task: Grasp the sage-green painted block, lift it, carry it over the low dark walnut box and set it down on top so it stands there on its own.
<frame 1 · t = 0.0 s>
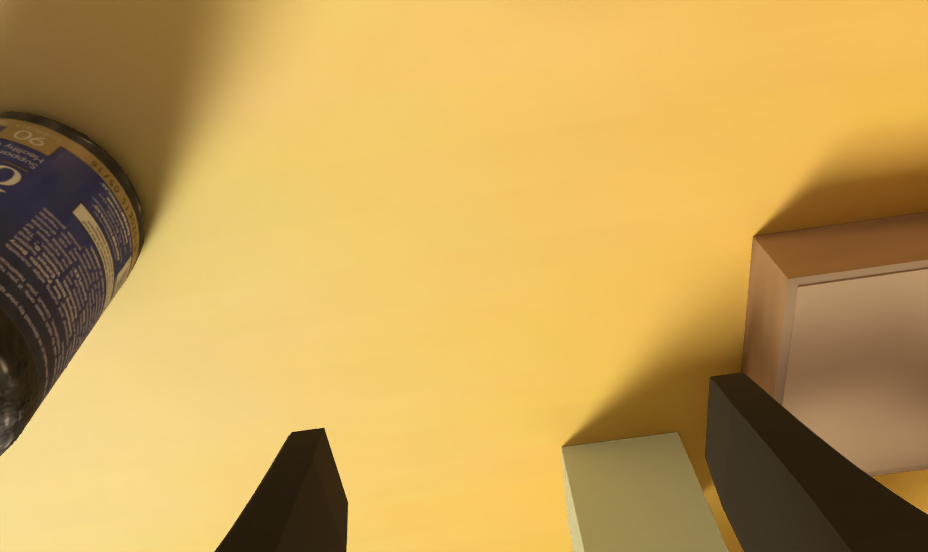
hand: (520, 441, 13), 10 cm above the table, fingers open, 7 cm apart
sage block: (620, 479, 29), on the table
walnut box: (865, 322, 26), on the table
pill bottle: (46, 203, 22), on the table
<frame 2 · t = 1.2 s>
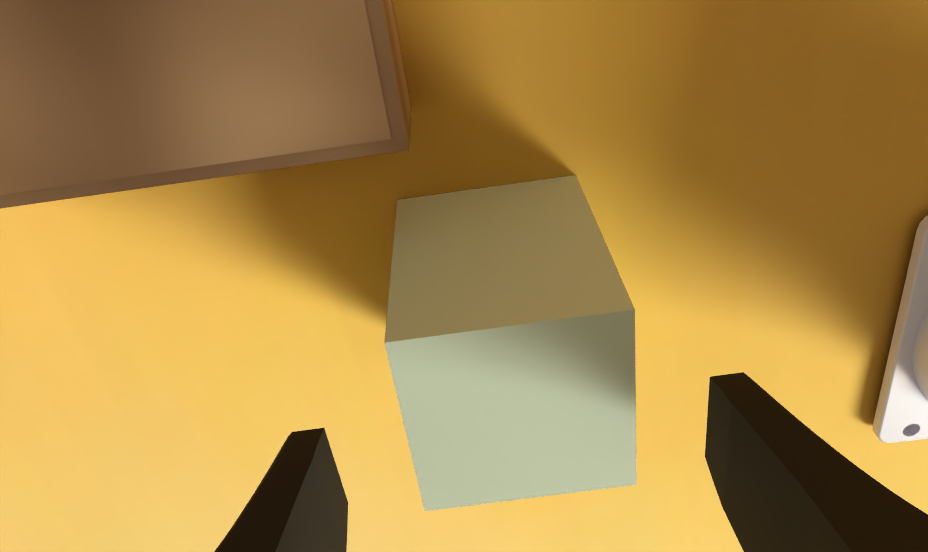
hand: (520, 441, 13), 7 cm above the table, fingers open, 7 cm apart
sage block: (495, 263, 19), on the table
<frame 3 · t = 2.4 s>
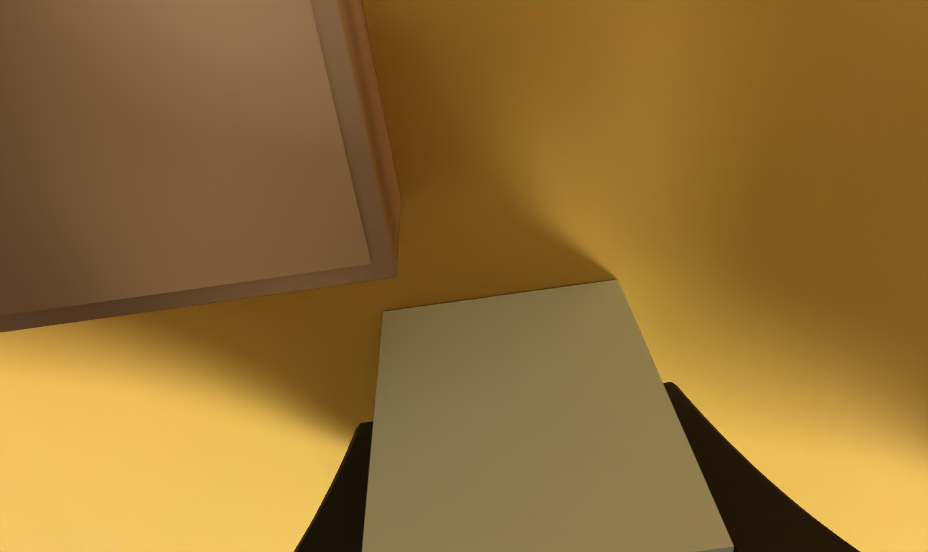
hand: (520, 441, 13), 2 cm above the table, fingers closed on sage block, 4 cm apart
sage block: (511, 385, 15), on the table, touching gripper
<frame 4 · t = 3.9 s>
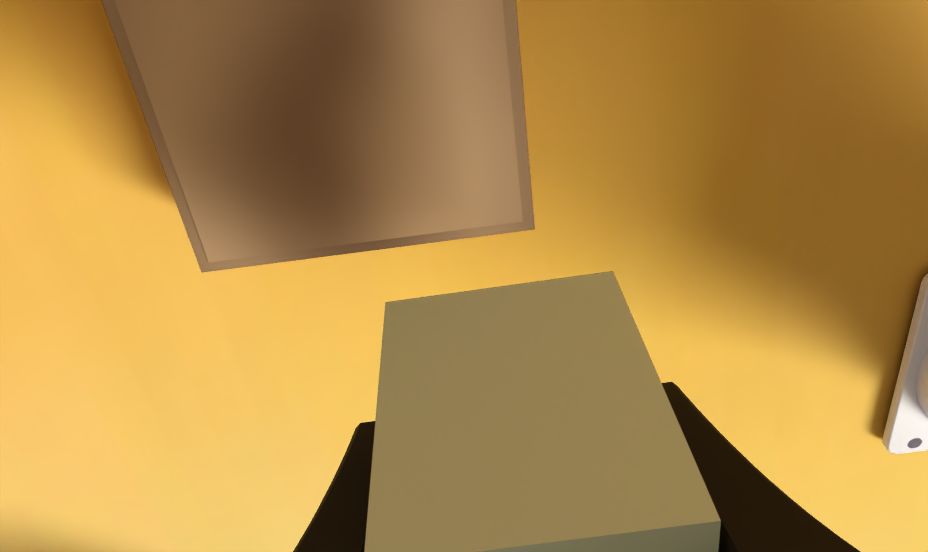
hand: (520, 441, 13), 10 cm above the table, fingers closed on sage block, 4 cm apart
sage block: (509, 374, 15), point 7 cm above the table, touching gripper
walnut box: (343, 52, 19), on the table
when the fingers open (6 cm above the table, at t = 5.6 s): sage block stays where it is, resting on walnut box.
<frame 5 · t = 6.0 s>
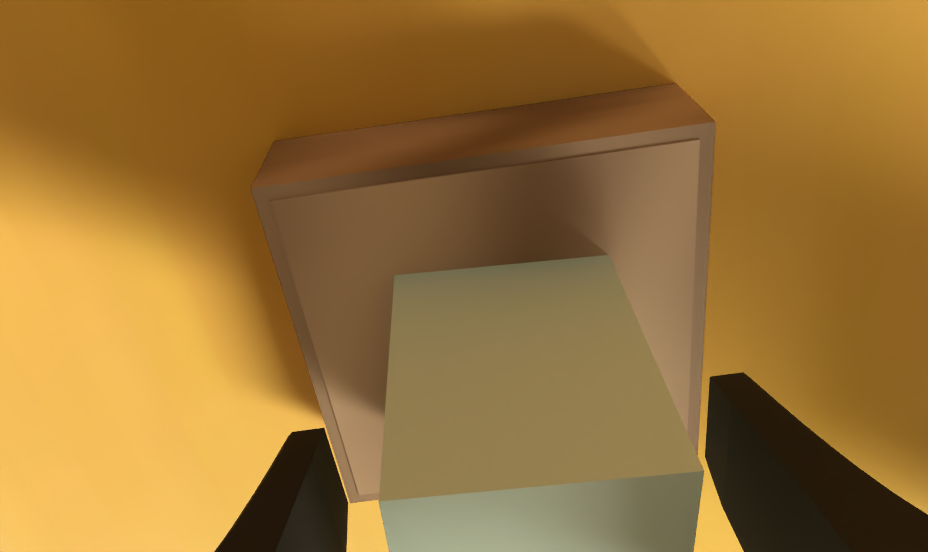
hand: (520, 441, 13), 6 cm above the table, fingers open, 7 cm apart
sage block: (506, 350, 16), point 3 cm above the table, touching walnut box
walnut box: (493, 272, 19), on the table, touching sage block
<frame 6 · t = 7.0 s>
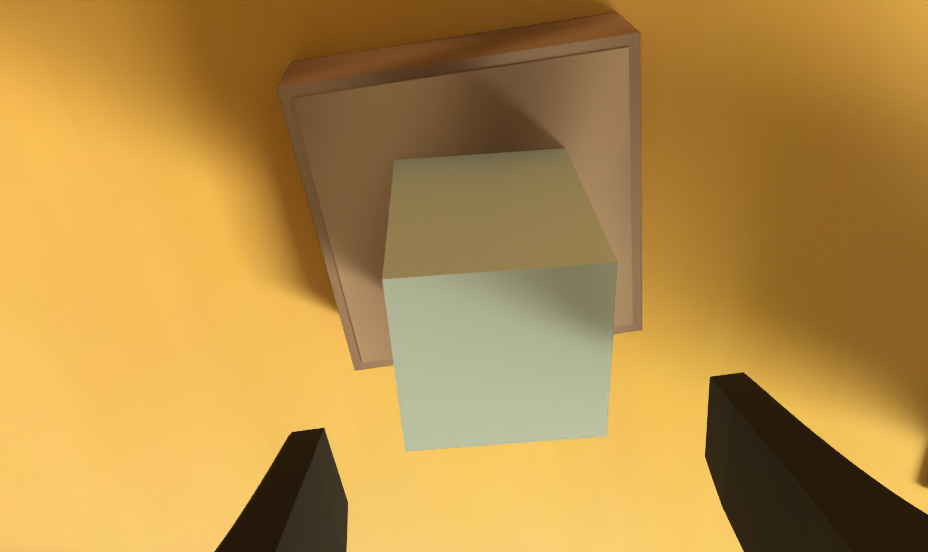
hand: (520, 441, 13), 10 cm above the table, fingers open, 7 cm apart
sage block: (483, 230, 20), point 2 cm above the table, touching walnut box
walnut box: (473, 178, 22), on the table, touching sage block
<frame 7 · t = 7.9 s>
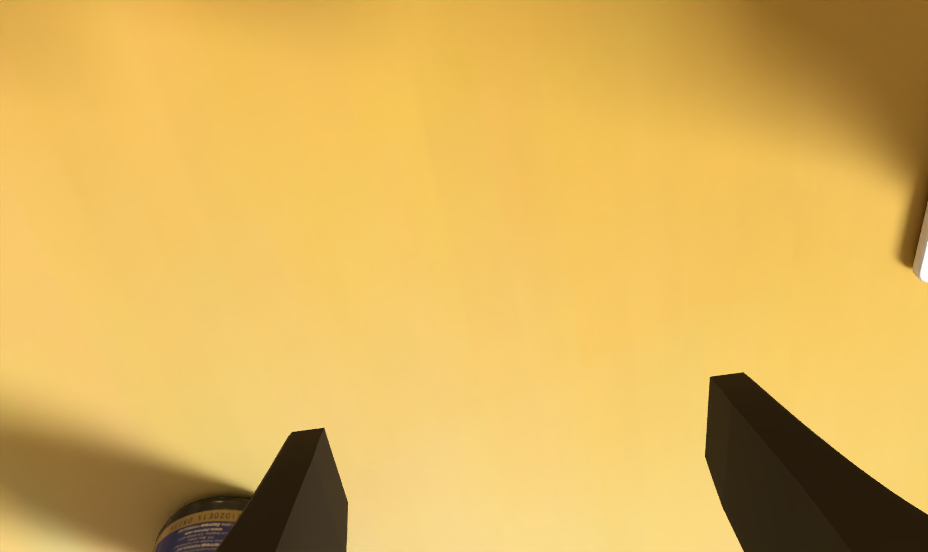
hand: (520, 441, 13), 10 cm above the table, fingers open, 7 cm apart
pill bottle: (239, 537, 30), on the table
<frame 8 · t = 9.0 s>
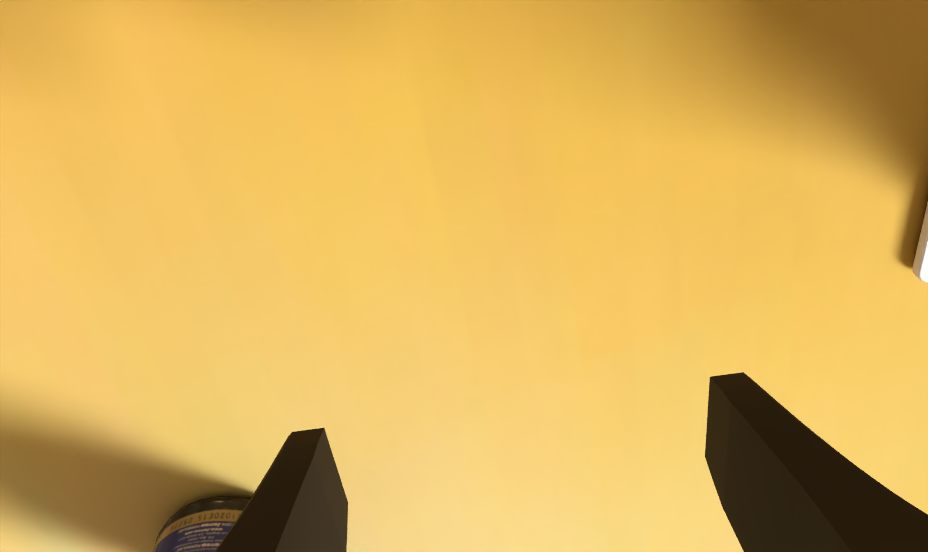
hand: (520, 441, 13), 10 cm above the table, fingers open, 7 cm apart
pill bottle: (239, 537, 30), on the table
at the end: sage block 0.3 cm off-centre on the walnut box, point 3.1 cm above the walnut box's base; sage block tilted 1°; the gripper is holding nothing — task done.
